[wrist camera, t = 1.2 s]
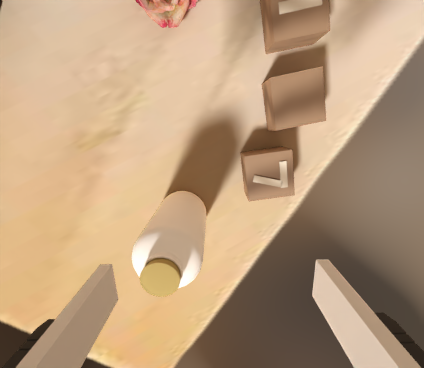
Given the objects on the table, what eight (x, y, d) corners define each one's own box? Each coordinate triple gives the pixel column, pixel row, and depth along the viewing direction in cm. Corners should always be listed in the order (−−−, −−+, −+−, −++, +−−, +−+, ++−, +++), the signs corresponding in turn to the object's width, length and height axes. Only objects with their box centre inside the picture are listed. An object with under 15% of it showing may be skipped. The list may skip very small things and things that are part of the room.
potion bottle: (205, 233, 40) (198, 316, 23) (160, 230, 40) (119, 310, 23) (208, 191, 38) (204, 246, 20) (161, 187, 38) (116, 240, 20)
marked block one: (259, 0, 31) (268, -25, 26) (309, -11, 30) (328, -39, 25) (265, 54, 32) (275, 41, 27) (312, 44, 32) (330, 29, 27)
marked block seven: (240, 152, 36) (244, 156, 31) (281, 146, 36) (292, 149, 31) (244, 191, 38) (249, 201, 33) (284, 186, 38) (295, 195, 33)
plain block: (261, 84, 33) (269, 77, 29) (306, 74, 33) (322, 66, 28) (267, 130, 35) (276, 130, 30) (310, 121, 35) (326, 120, 30)
